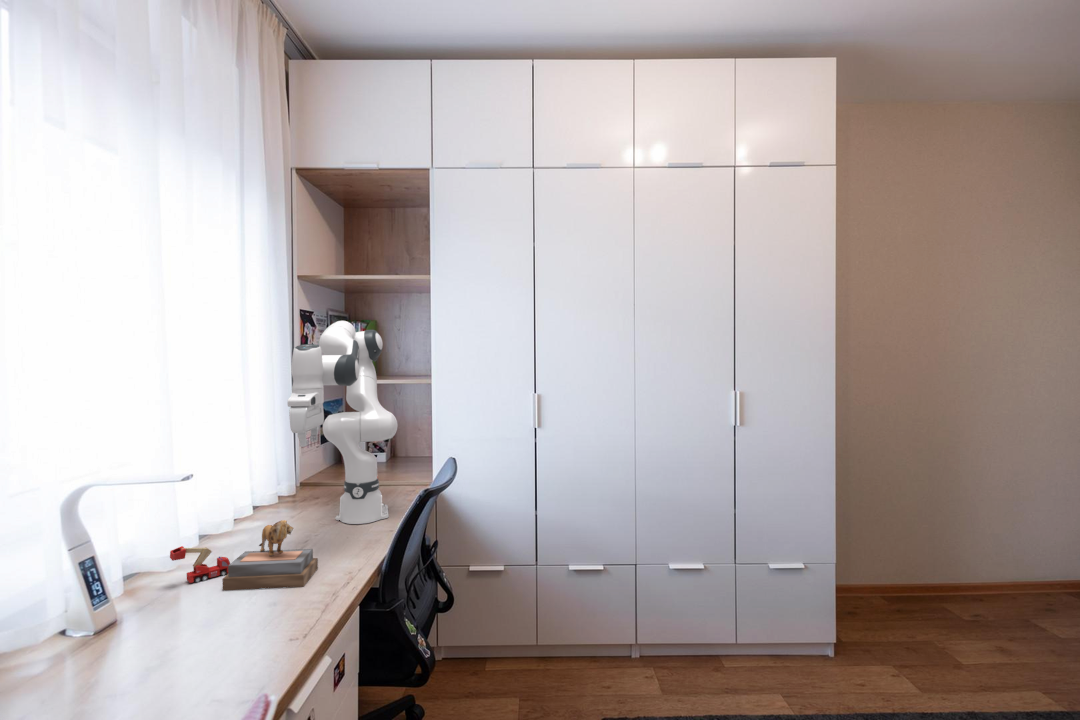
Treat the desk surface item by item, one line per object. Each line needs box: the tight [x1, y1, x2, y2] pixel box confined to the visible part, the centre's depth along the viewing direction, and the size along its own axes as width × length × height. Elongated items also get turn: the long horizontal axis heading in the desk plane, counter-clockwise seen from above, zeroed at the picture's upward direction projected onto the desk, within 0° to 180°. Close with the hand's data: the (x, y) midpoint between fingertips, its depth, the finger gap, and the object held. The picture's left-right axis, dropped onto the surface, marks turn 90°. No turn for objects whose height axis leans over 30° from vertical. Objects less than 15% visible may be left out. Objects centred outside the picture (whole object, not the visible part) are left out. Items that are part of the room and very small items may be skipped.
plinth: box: [221, 548, 319, 591], centre depth 148 cm, size 12×20×6 cm, turn 95°
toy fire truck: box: [169, 545, 231, 584], centre depth 148 cm, size 3×14×10 cm, turn 135°
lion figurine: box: [258, 519, 294, 555], centre depth 152 cm, size 15×5×9 cm, turn 53°
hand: (308, 443), depth 167 cm, fingers open, 8 cm apart
